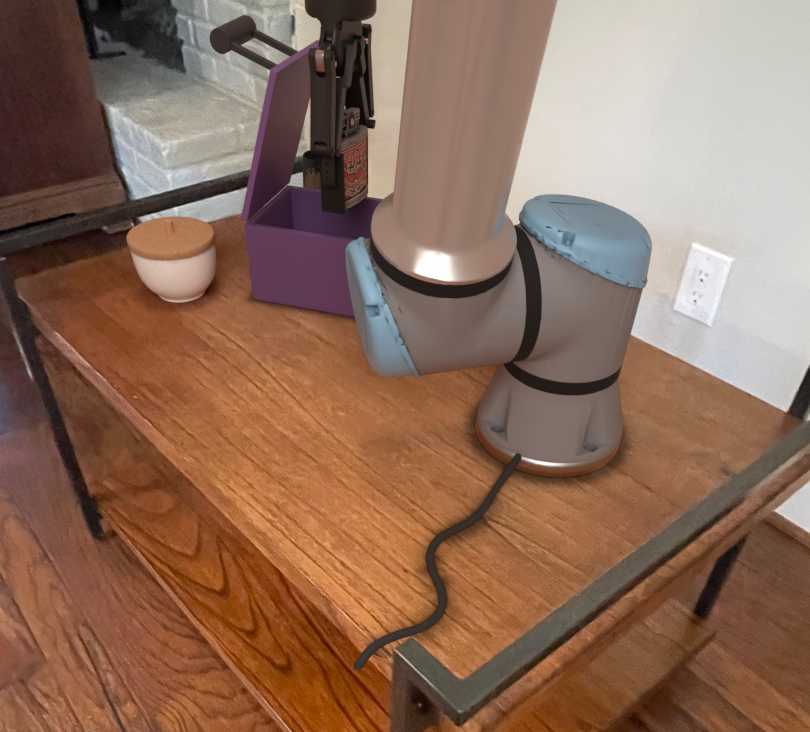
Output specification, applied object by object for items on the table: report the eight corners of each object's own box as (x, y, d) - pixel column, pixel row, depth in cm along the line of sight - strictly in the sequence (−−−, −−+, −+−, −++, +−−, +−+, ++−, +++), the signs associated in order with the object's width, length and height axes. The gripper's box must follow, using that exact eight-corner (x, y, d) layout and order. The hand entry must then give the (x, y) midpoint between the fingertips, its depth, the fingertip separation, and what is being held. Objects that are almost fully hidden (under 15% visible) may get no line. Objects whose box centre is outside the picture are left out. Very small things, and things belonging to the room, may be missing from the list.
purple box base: (403, 273, 105) (405, 202, 98) (373, 320, 96) (373, 245, 89) (293, 255, 108) (287, 184, 101) (253, 299, 99) (244, 224, 92)
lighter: (351, 186, 96) (349, 98, 89) (374, 192, 95) (374, 103, 88) (316, 208, 91) (311, 117, 84) (340, 214, 90) (337, 122, 83)
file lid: (323, 42, 88) (251, 5, 87) (277, 72, 79) (196, 30, 78) (289, 182, 101) (227, 150, 100) (246, 222, 91) (177, 187, 91)
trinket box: (214, 313, 96) (202, 240, 89) (130, 310, 96) (111, 237, 89) (229, 274, 103) (219, 204, 97) (151, 271, 103) (136, 201, 97)
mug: (298, 230, 114) (292, 145, 105) (328, 221, 116) (324, 137, 108) (328, 249, 110) (324, 162, 101) (358, 239, 112) (357, 154, 104)
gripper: (339, -9, 69) (346, 236, 85) (404, -44, 83) (399, 172, 99) (263, -16, 70) (284, 227, 86) (339, -50, 84) (345, 165, 100)
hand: (345, 197), depth 93 cm, fingers closed on lighter, 8 cm apart
